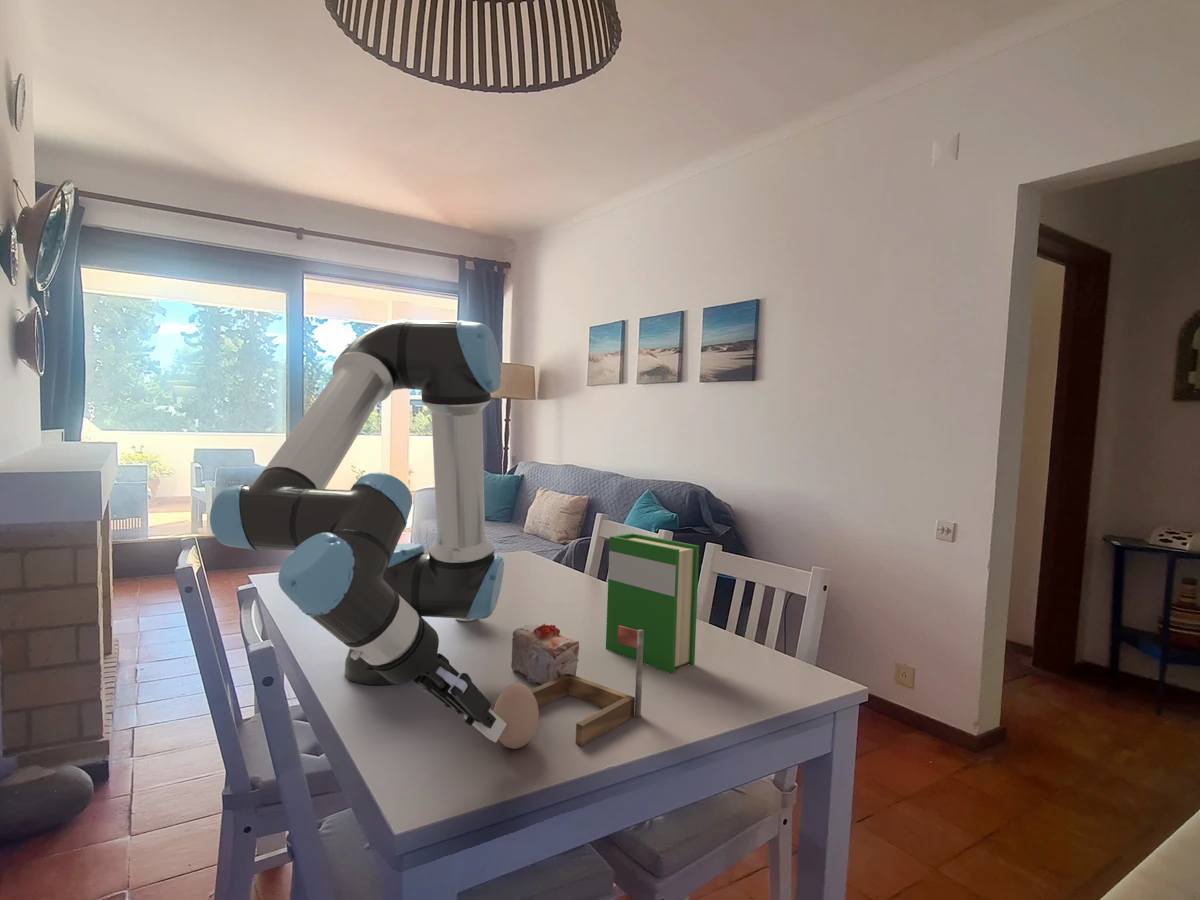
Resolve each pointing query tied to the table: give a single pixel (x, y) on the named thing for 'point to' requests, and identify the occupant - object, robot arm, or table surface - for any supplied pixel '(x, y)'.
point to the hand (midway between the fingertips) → (497, 731)
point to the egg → (517, 715)
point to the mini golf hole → (598, 694)
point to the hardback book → (653, 598)
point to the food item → (543, 653)
